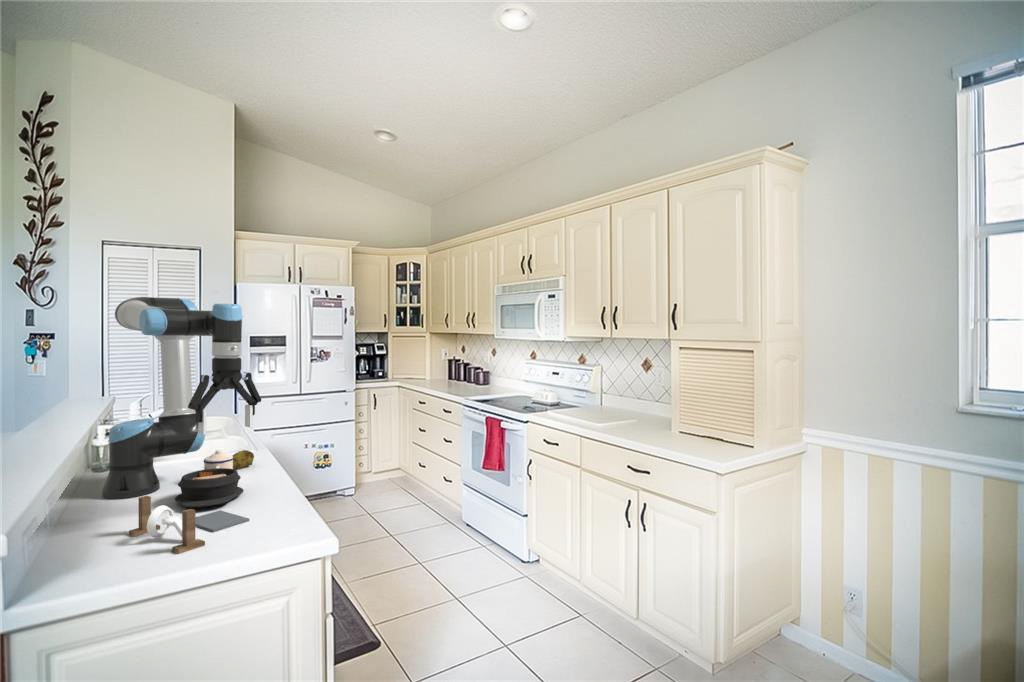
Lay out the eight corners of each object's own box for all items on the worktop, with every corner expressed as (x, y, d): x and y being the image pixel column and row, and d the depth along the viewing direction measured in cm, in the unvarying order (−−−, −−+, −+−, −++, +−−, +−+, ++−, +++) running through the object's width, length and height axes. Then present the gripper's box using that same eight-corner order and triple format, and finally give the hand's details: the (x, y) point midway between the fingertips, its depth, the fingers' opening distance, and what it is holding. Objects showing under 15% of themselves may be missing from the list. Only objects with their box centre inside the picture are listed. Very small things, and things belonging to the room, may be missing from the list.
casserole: (181, 493, 172) (181, 467, 172) (245, 487, 180) (245, 462, 180) (167, 517, 149) (167, 487, 149) (241, 508, 157) (241, 480, 157)
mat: (184, 522, 144) (184, 520, 144) (220, 512, 153) (220, 510, 153) (213, 532, 137) (213, 529, 137) (249, 520, 146) (249, 518, 146)
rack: (128, 534, 136) (128, 499, 136) (154, 527, 141) (154, 493, 141) (179, 553, 123) (178, 515, 123) (205, 545, 129) (204, 508, 129)
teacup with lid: (205, 482, 185) (204, 449, 185) (234, 479, 189) (234, 446, 189) (201, 491, 174) (201, 455, 174) (232, 488, 178) (232, 453, 178)
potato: (216, 472, 199) (215, 451, 199) (254, 468, 205) (253, 447, 205) (214, 477, 192) (214, 455, 192) (254, 473, 198) (254, 452, 198)
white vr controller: (157, 561, 127) (173, 538, 126) (133, 527, 131) (148, 504, 131) (185, 555, 134) (201, 533, 133) (161, 522, 138) (176, 501, 138)
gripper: (188, 359, 141) (188, 438, 141) (274, 356, 162) (273, 425, 162) (174, 357, 145) (173, 435, 145) (259, 355, 166) (258, 422, 166)
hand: (226, 430), depth 154 cm, fingers open, 13 cm apart
